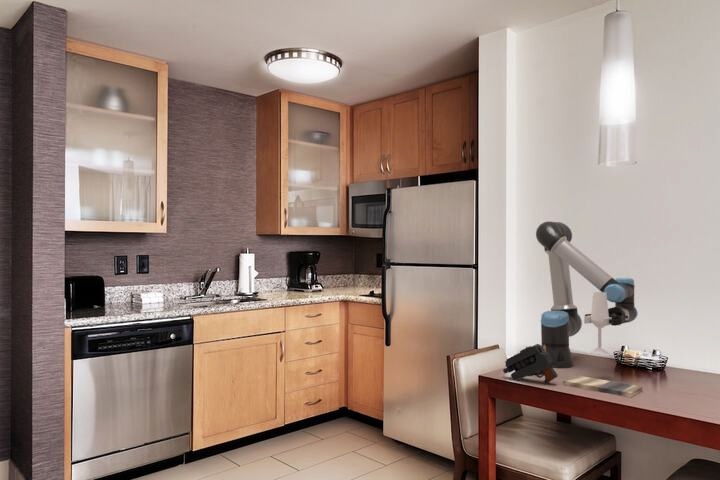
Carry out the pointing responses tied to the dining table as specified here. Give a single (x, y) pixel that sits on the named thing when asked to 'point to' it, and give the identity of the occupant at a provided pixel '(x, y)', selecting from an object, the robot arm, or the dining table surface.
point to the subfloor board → (603, 386)
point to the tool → (531, 364)
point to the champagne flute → (599, 316)
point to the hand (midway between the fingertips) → (594, 321)
